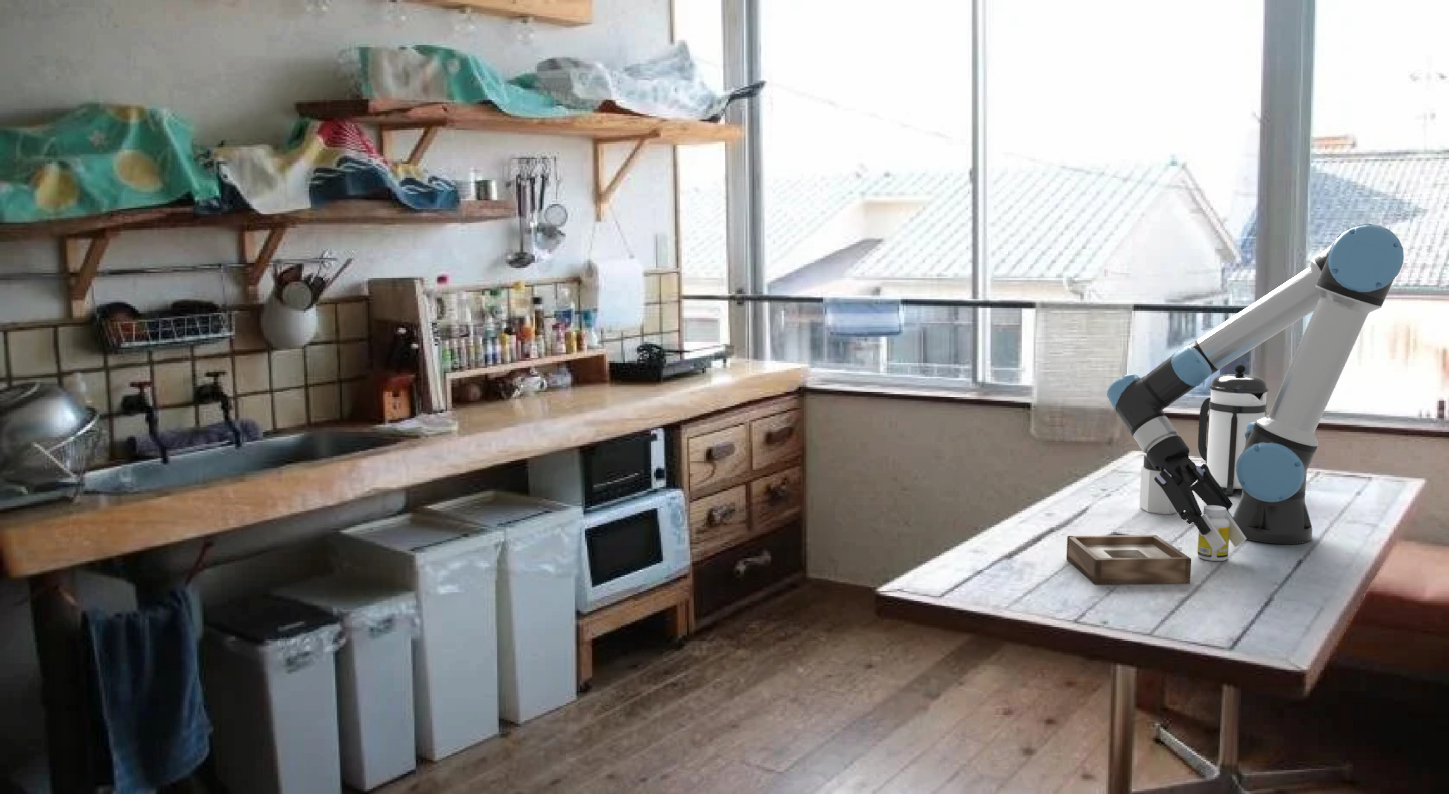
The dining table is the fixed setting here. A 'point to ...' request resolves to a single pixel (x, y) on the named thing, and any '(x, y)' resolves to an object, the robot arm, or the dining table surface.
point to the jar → (1153, 492)
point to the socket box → (1128, 560)
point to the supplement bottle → (1222, 526)
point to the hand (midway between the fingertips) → (1230, 545)
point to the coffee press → (1229, 423)
